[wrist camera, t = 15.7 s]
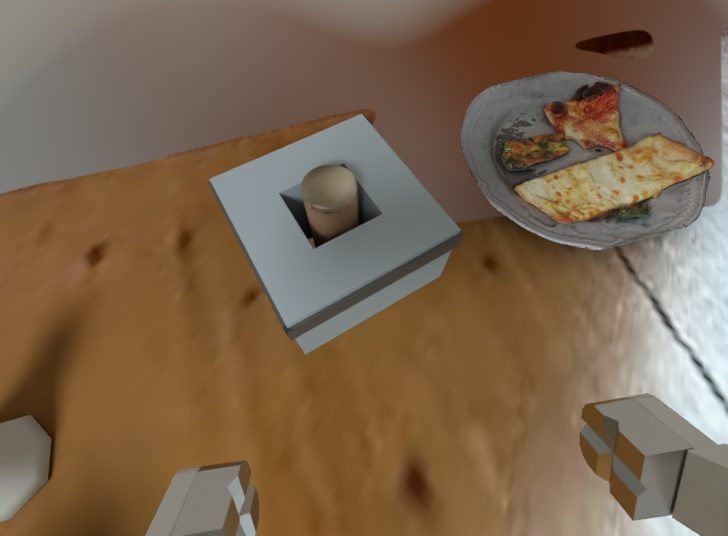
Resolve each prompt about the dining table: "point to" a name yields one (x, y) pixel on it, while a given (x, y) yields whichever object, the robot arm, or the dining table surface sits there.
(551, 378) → the dining table surface
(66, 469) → the dining table surface
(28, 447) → the flask
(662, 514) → the robot arm
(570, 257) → the dining table surface
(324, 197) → the beige cylinder
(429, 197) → the collar block
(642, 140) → the food plate
